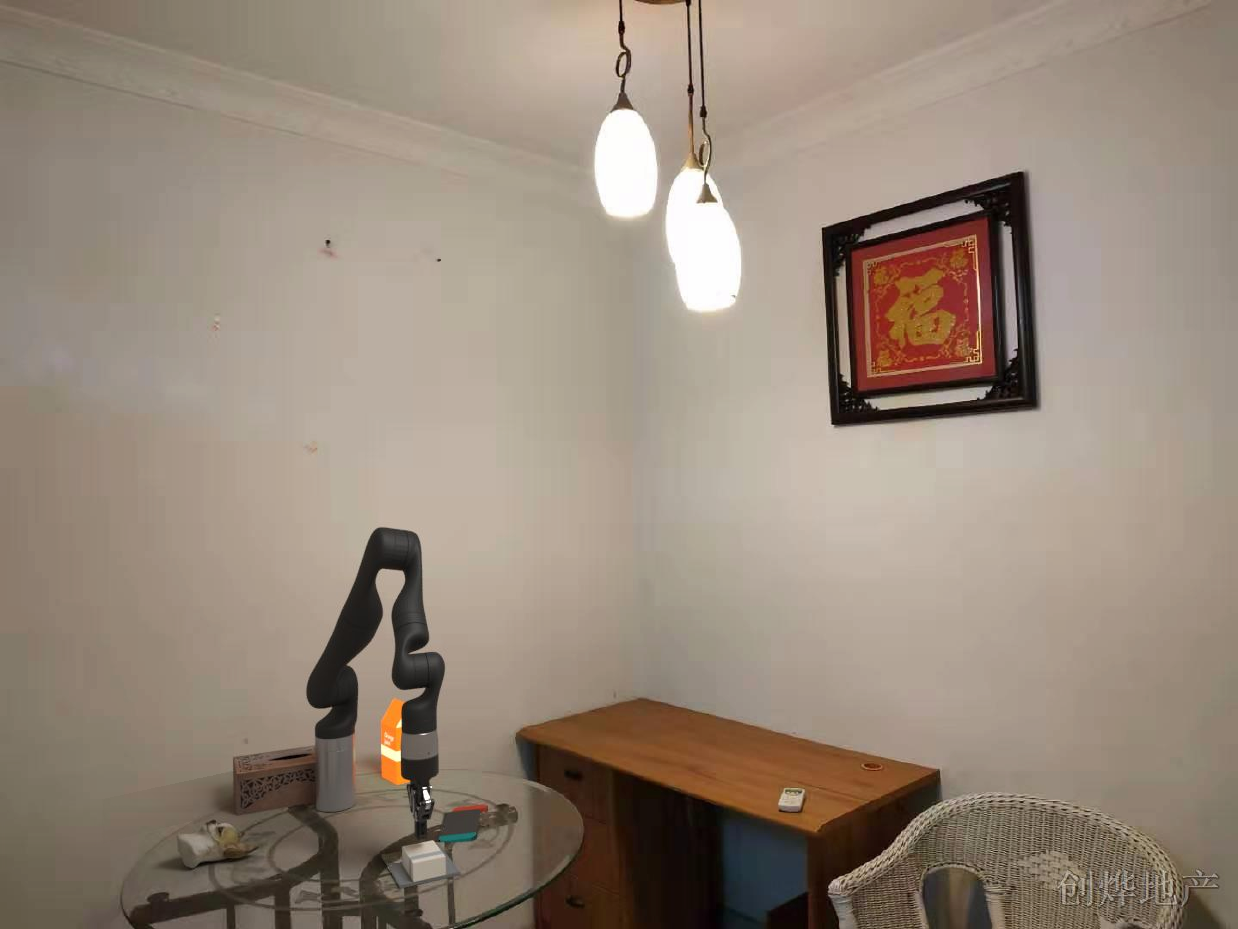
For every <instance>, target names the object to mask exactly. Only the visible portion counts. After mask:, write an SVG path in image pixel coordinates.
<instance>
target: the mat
mask: <svg viewBox="0 0 1238 929" xmlns="http://www.w3.org/2000/svg"><path fill="white" fill-rule="evenodd" d="M435 843H436V845H437V846H438V847H439V849H440V850H441V851H442V852H443V854H444V855H445V857H446V875H443V876H439V877H434V878H430V879H425V880H421V881H416V882H413V881H412V879H411V878H410V876H409V874H408V873H407V871H406V869H405V868H404V866H403V865H402V862H400V863H394V862H392V863H389V864H388V863H387V865H392V866H388V867H389V869H390V871H391V873H392V875H393V876H392V875H391V876H392V878H393V877H394V878H393V880H394V881H395V883H396V884H397V886H398V888H399V889H404V888H407V887H412V886H413V887H414V886H417V885H422V884H425V883H430V882H436V881H440V880H443V879H448V878H452V877H457V876H461V871H460V870H459V868H458V867H457V865H455V863H454V862H453V860H452V859H451V858H450V856H449V855H448V854H447V853H446V851H445V850H444V849H443V848H442V847H441V845H440V843H438V842H435ZM384 859H385V858H384ZM386 859H387V858H386ZM401 859H402V858H401ZM390 871H389V872H390ZM391 873H390V874H391Z"/></svg>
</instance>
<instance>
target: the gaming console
mask: <svg viewBox="0 0 1238 929" xmlns="http://www.w3.org/2000/svg"><path fill="white" fill-rule="evenodd" d="M488 810H489V806H488V805H487V804H475V805H467V806H457V807H455V808H453V809H452V810H451V811H449V812H446V811H445V812H444V813H443V818H442V822H441V826H440V831H439V834H441V835H438V841H439V840H440V841H442V842H451V843H463V842H472V841H474V840H476V839H477V838H478V832H479V824H480V816H481V812H483V811H484V812H488ZM443 828H444V829H443ZM442 830H443V832H442ZM442 842H441V843H442Z"/></svg>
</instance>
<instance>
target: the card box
mask: <svg viewBox="0 0 1238 929" xmlns="http://www.w3.org/2000/svg"><path fill="white" fill-rule="evenodd" d="M436 843H437V842H435V841H434V840H428V841H423V842H419V843H413V844H408V845H403V846H401V850H402V865H403V866H404V868H405V869H406V871H407V873H408V874H409V876H410V878H411V879H412V881H413V882H416V881H421V880H425V879H430V878H434V877H439V876H443V875H446V857H445V855H444V854H443V852H442V851H441V850H440V849H439V847H438V846H437V845H436Z"/></svg>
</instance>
